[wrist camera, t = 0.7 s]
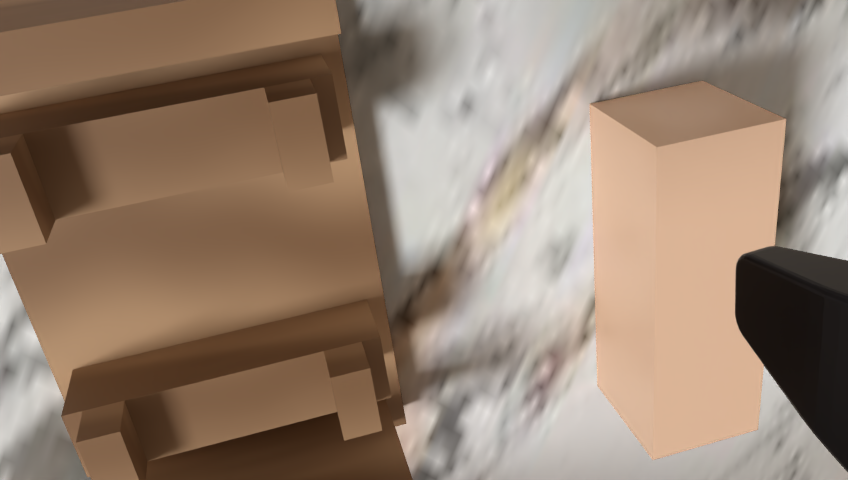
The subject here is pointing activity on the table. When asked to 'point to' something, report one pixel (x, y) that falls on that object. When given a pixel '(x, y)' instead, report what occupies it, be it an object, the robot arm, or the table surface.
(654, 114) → the tan rectangular block
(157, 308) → the rack
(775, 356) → the robot arm
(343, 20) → the table surface
